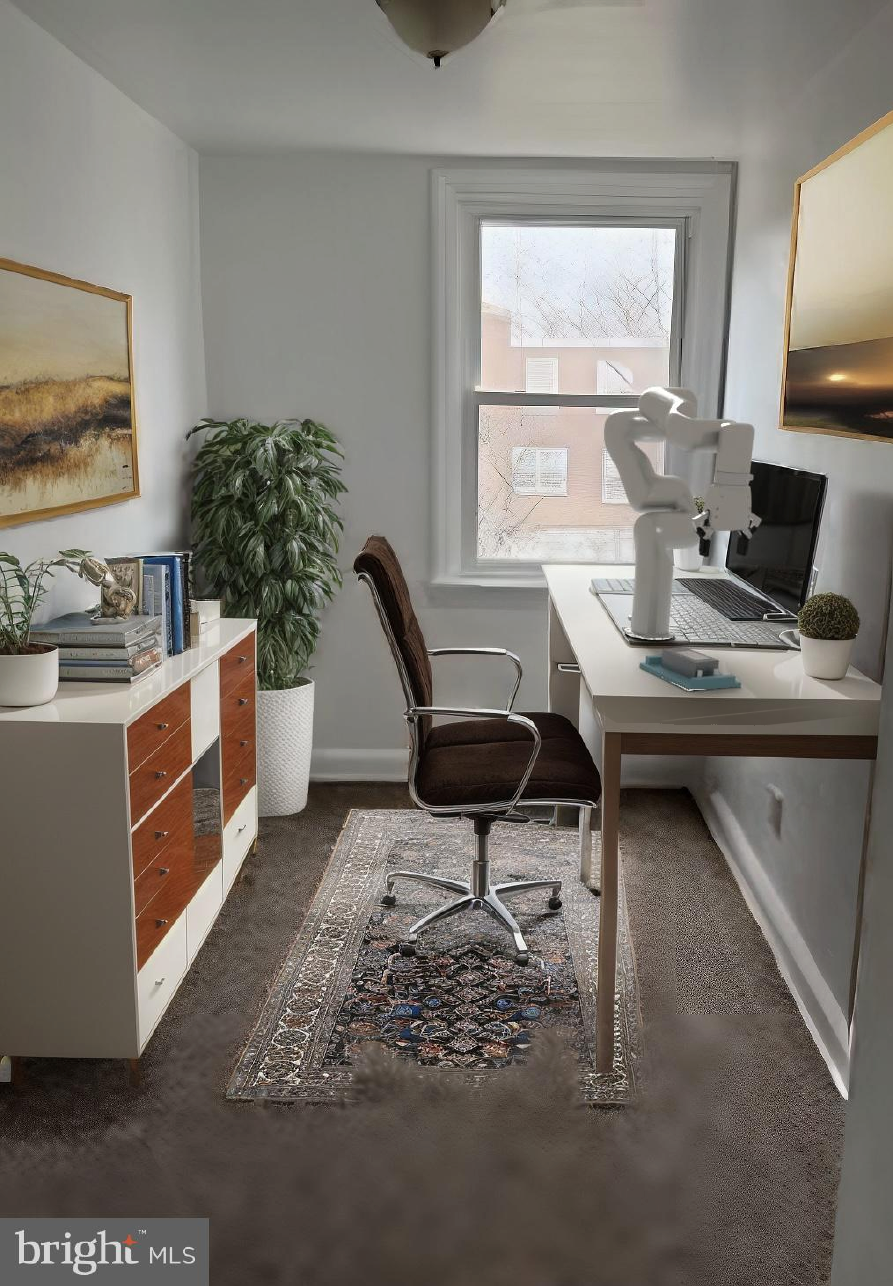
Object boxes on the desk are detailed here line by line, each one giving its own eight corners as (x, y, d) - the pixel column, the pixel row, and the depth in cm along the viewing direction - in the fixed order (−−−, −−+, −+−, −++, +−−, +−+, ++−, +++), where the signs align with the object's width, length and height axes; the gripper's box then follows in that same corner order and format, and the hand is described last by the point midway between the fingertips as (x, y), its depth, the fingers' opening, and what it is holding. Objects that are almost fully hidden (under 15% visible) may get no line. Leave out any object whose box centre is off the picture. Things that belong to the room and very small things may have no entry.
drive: (661, 666, 232) (662, 648, 231) (683, 664, 234) (684, 646, 233) (694, 680, 221) (696, 662, 220) (717, 678, 224) (718, 659, 223)
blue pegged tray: (639, 667, 235) (640, 652, 234) (689, 663, 239) (690, 648, 238) (688, 691, 217) (689, 675, 216) (740, 687, 221) (742, 671, 220)
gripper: (755, 477, 236) (746, 551, 241) (688, 477, 231) (680, 553, 236) (774, 481, 229) (765, 557, 234) (706, 481, 224) (697, 559, 229)
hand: (722, 555), depth 235 cm, fingers open, 9 cm apart
